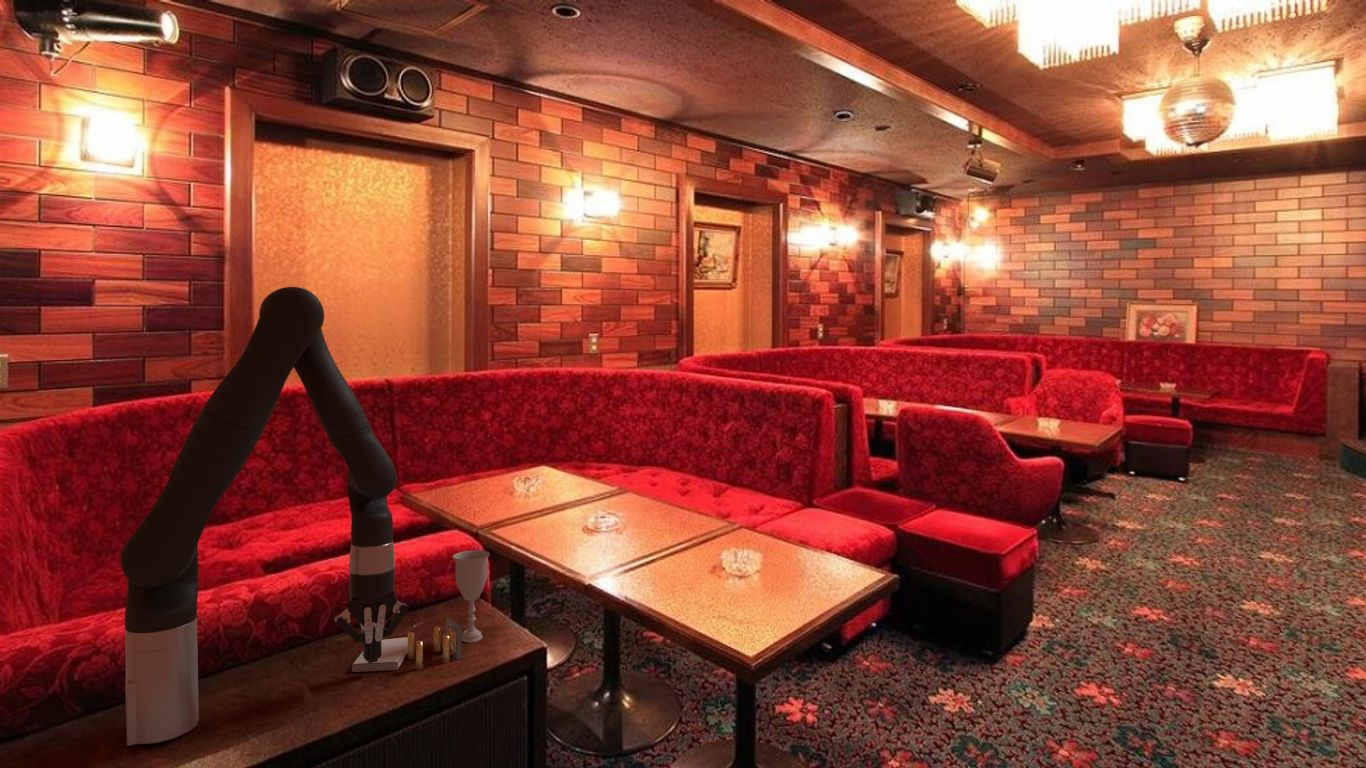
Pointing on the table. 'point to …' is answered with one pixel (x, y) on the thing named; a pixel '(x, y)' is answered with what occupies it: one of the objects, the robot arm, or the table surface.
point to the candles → (438, 643)
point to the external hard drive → (384, 656)
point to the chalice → (471, 585)
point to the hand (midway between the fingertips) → (372, 660)
